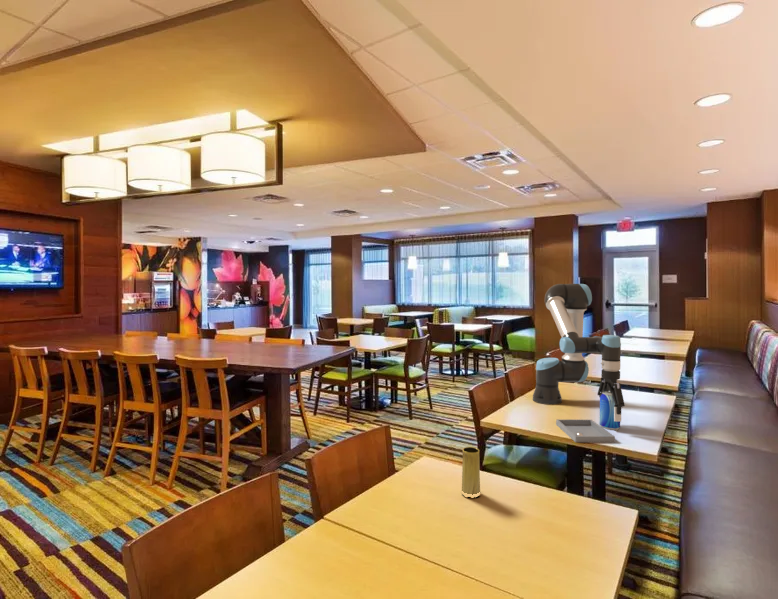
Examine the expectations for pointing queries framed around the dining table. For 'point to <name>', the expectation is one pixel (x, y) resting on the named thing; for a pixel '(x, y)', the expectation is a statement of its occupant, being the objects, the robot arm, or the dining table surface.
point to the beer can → (607, 412)
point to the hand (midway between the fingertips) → (610, 416)
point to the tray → (585, 431)
